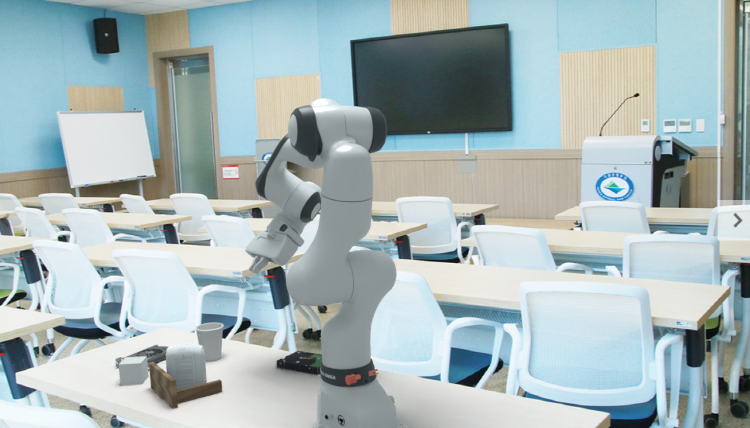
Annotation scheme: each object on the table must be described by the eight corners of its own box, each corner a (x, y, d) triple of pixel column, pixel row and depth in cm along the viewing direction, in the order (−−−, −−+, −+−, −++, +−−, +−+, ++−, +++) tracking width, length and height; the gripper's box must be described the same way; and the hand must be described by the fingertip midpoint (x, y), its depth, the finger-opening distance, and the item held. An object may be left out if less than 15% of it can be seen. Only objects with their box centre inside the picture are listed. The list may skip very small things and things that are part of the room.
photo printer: (208, 385, 180) (205, 340, 178) (205, 391, 175) (202, 345, 174) (170, 387, 179) (166, 342, 178) (166, 393, 175) (162, 347, 174)
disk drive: (276, 370, 191) (318, 376, 184) (275, 360, 191) (318, 367, 183) (297, 359, 200) (339, 365, 193) (297, 350, 200) (338, 355, 192)
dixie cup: (216, 363, 197) (214, 330, 196) (192, 362, 200) (189, 329, 198) (230, 354, 205) (228, 322, 204) (206, 353, 207) (204, 321, 206)
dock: (225, 394, 172) (223, 368, 172) (173, 408, 164) (170, 381, 164) (200, 375, 187) (198, 351, 186) (150, 388, 179) (148, 362, 178)
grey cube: (127, 378, 188) (125, 357, 188) (148, 376, 189) (147, 356, 188) (120, 385, 182) (118, 364, 182) (142, 384, 183) (140, 363, 182)
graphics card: (146, 362, 191) (114, 357, 196) (146, 375, 192) (115, 370, 197) (184, 346, 207) (154, 341, 211) (185, 358, 207) (155, 353, 212)
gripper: (258, 222, 193) (229, 260, 189) (292, 228, 177) (260, 269, 172) (273, 235, 197) (244, 273, 192) (307, 242, 180) (277, 284, 175)
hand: (252, 271), depth 182 cm, fingers closed
